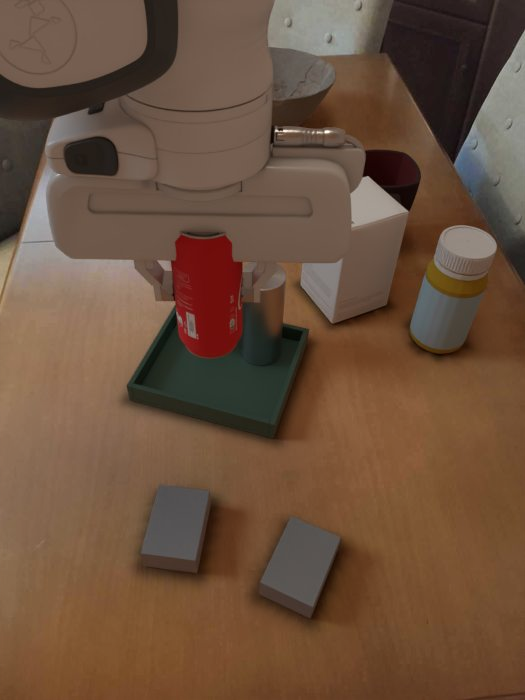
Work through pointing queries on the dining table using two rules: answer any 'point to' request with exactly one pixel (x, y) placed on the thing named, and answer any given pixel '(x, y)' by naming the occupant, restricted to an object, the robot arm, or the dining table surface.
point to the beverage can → (207, 293)
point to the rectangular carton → (360, 257)
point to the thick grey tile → (176, 529)
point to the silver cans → (264, 320)
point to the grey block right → (299, 566)
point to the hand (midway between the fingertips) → (208, 296)
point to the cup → (394, 174)
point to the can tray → (218, 381)
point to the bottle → (452, 289)
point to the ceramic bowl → (298, 85)
